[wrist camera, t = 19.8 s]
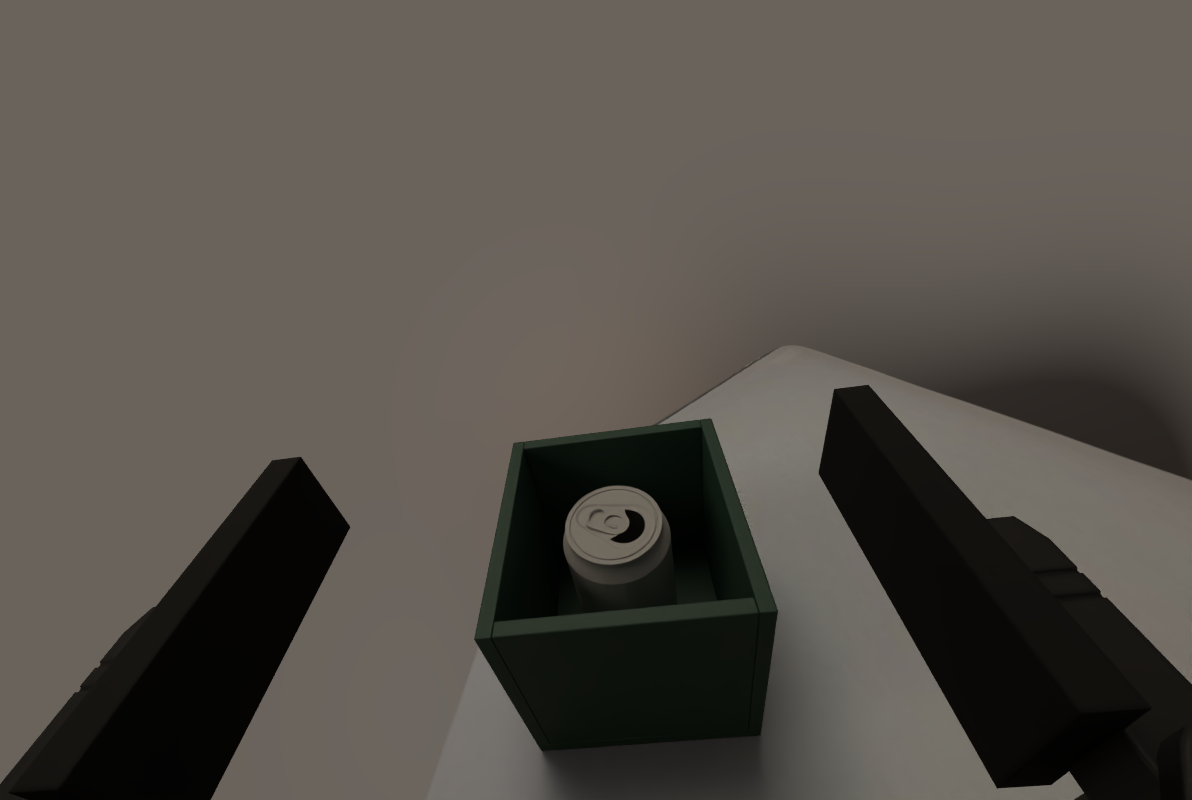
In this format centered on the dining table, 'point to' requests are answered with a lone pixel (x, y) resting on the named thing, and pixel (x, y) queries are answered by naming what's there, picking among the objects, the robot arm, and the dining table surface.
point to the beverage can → (619, 551)
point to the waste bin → (631, 636)
